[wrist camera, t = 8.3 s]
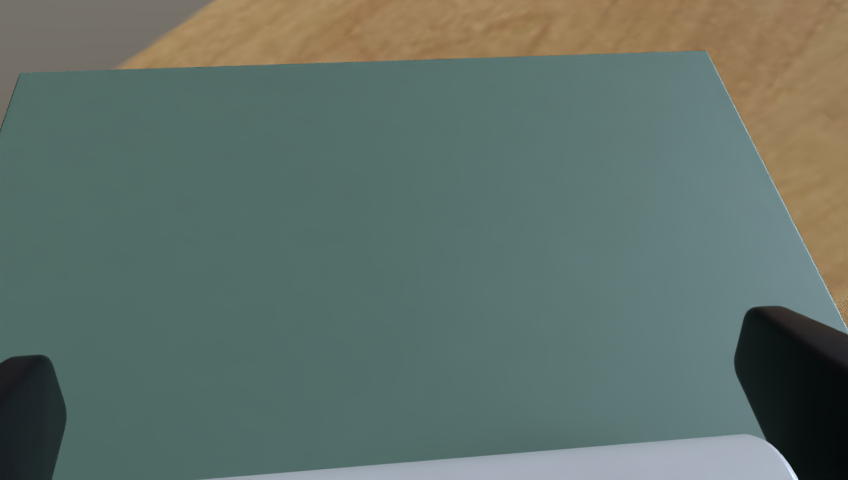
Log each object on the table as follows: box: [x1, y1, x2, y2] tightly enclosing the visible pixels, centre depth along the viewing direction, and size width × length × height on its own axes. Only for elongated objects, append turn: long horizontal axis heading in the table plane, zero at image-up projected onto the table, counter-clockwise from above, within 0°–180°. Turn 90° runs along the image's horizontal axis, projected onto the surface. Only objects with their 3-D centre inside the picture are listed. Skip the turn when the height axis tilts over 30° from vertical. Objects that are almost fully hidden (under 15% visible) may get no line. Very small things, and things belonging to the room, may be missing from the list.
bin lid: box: [0, 51, 848, 480], centre depth 10 cm, size 12×15×5 cm
